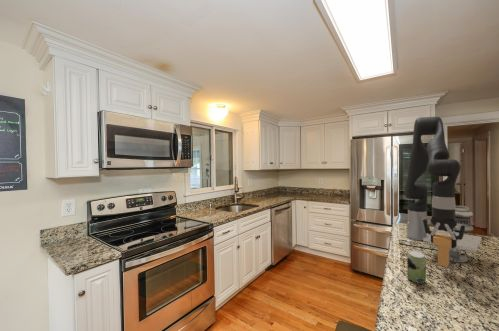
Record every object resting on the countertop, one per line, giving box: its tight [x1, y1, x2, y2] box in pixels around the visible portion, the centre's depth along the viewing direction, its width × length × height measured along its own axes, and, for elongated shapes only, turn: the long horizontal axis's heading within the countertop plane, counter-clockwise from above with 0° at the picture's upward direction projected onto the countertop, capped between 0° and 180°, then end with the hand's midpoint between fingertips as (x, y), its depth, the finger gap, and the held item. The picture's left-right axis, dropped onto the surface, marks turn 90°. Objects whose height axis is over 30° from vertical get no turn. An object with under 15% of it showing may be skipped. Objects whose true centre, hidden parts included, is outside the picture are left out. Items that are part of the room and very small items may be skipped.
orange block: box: [432, 233, 452, 268], centre depth 96 cm, size 6×7×12 cm
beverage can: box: [406, 250, 427, 284], centre depth 91 cm, size 6×7×12 cm
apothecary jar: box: [453, 205, 474, 234], centre depth 137 cm, size 12×12×18 cm
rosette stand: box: [422, 228, 482, 264], centre depth 107 cm, size 18×20×13 cm
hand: (443, 245), depth 96 cm, fingers closed on orange block, 5 cm apart
